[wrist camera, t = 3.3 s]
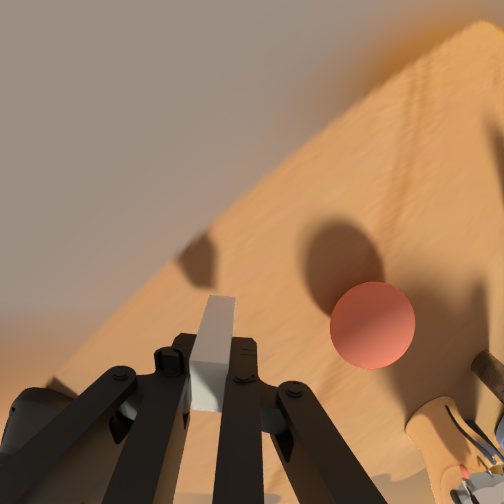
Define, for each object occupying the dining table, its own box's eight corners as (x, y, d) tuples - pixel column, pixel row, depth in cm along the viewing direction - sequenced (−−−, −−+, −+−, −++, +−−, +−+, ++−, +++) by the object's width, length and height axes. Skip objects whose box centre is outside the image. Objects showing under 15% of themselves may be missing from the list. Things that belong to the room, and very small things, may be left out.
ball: (315, 341, 21) (334, 389, 15) (327, 268, 19) (355, 301, 14) (383, 340, 21) (414, 381, 15) (400, 271, 19) (441, 301, 14)
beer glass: (419, 444, 25) (467, 539, 10) (389, 430, 24) (442, 547, 9) (464, 403, 24) (529, 491, 9) (441, 383, 22) (520, 490, 8)
